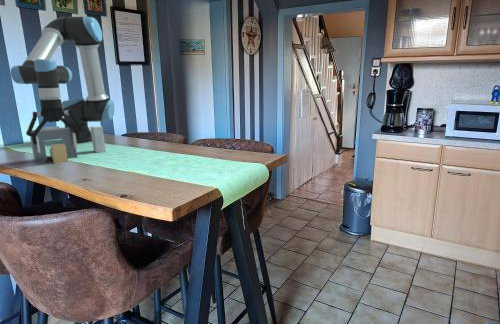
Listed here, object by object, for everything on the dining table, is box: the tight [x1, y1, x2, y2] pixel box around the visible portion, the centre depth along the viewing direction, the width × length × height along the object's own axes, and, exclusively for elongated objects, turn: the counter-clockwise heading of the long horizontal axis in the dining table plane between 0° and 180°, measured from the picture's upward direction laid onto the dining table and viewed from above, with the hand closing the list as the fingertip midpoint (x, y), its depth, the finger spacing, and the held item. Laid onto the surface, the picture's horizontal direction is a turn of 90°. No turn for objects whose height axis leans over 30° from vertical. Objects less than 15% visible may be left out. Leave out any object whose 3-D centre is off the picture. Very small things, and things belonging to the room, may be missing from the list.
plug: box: [49, 143, 69, 164], centre depth 147 cm, size 5×16×7 cm, turn 37°
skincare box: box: [89, 125, 107, 153], centre depth 161 cm, size 6×4×12 cm
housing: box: [29, 125, 78, 163], centre depth 146 cm, size 16×6×14 cm, turn 127°
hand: (58, 150), depth 141 cm, fingers open, 13 cm apart
